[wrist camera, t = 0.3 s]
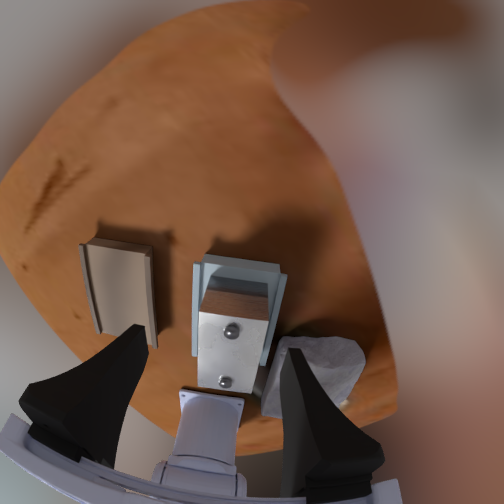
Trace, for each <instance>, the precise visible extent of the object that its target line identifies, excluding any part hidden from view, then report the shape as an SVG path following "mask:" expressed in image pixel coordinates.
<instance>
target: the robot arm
mask: <svg viewBox="0 0 504 504" xmlns="http://www.w3.org/2000/svg"><path fill="white" fill-rule="evenodd" d="M148 355H149V351H148V345H147V338H146V331H145V326H143V325H138V324H133V325H132V326H130V327H129V328H128V329H127V330H126V331H124V332H123V333H122V334H121V335H120V336H119V337H117V338H116V339H115V340H114V341H113V342H111V343H110V344H109V345H108V346H107V347H105V348H104V349H103V350H101V351H100V352H99V353H97V354H96V355H94V356H93V357H92V358H90V359H89V360H87V361H85V362H84V363H82V364H80V365H79V366H77V367H75V368H73V369H71V370H69V371H67V372H65V373H62V374H60V375H58V376H55V377H52V378H49V379H46V380H43V381H39V382H35V383H31V384H29V385H28V387H27V388H26V390H25V391H24V393H23V395H22V396H21V398H20V399H19V404H20V406H21V408H22V410H23V411H24V412H25V413H26V415H27V416H28V417H29V418H30V419H31V421H32V422H33V423H32V425H31V426H30V425H29V424H28V423H26V422H25V421H23V420H22V419H20V418H19V417H17V416H16V415H14V414H13V413H12V414H11V415H10V417H9V419H8V420H7V422H6V424H5V426H4V427H3V429H2V431H1V433H0V451H1V452H2V453H3V454H4V455H6V456H7V457H8V458H9V459H11V460H12V461H13V462H14V463H16V464H17V465H18V466H19V467H21V468H22V469H24V470H25V471H27V472H28V473H30V474H31V475H33V476H34V477H36V478H37V479H39V480H40V481H42V482H43V483H45V484H47V485H48V486H50V487H52V488H53V489H55V490H57V491H59V492H60V493H62V494H64V495H66V496H68V497H70V498H72V499H74V500H75V501H77V502H80V503H82V504H403V503H402V498H401V494H400V489H399V485H398V481H397V479H392V480H388V481H384V482H379V483H376V484H373V485H371V484H370V480H372V472H374V471H375V470H376V469H378V468H379V467H380V466H381V465H382V464H383V463H384V461H385V457H384V453H383V450H382V447H381V445H380V443H378V442H377V441H376V440H374V439H372V438H371V437H369V436H368V435H367V434H365V433H364V432H363V431H361V430H360V429H359V428H358V427H357V426H355V425H354V424H353V423H352V422H351V421H350V420H349V419H348V418H347V417H346V416H345V415H344V414H343V413H342V412H341V411H340V410H339V409H338V407H337V406H336V405H335V404H334V403H333V401H332V400H331V399H330V398H329V396H328V395H327V393H326V392H325V391H324V389H323V388H322V386H321V385H320V383H319V381H318V380H317V378H316V376H315V375H314V373H313V371H312V370H311V368H310V366H309V364H308V362H307V360H306V358H305V356H304V354H303V352H302V350H301V349H300V348H289V347H288V349H287V353H286V356H285V359H284V362H283V365H282V368H281V371H280V387H279V391H280V401H281V411H282V420H283V432H284V442H283V468H282V469H283V470H282V482H281V492H280V498H254V497H253V498H252V497H246V491H247V486H246V479H245V478H244V477H243V476H242V474H240V473H236V466H234V460H235V448H236V436H237V431H238V427H239V423H240V419H241V415H242V410H243V406H244V399H243V398H237V397H229V396H221V395H214V394H208V393H202V392H196V391H191V390H185V389H180V391H179V395H180V404H181V413H182V415H181V419H180V423H179V427H178V432H177V436H176V440H175V445H174V449H173V454H172V455H169V458H168V461H165V460H163V461H161V462H159V463H158V464H157V465H156V466H155V469H154V471H153V475H152V479H151V481H147V480H144V479H141V478H137V477H134V476H131V475H128V474H125V473H122V472H119V471H116V470H114V464H115V458H116V452H117V446H118V441H119V436H120V432H121V428H122V424H123V421H124V417H125V414H126V410H127V407H128V405H129V402H130V400H131V397H132V395H133V393H134V391H135V389H136V386H137V384H138V382H139V380H140V378H141V375H142V373H143V371H144V368H145V365H146V362H147V358H148ZM117 485H118V486H117ZM120 486H121V487H120ZM122 487H123V488H122ZM124 488H126V489H129V490H133V491H136V492H139V493H143V494H146V495H149V496H150V497H147V496H143V495H139V494H136V493H130V492H126V490H125V489H124Z"/></svg>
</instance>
